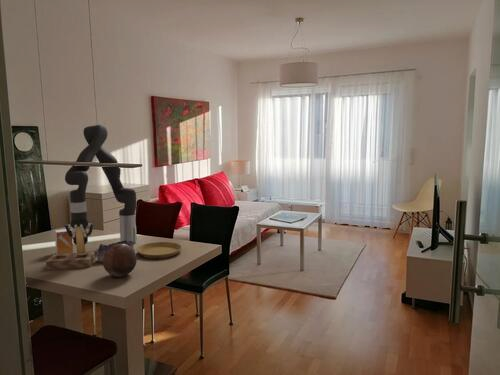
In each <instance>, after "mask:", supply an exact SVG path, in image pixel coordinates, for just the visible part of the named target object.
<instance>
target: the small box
mask: <svg viewBox="0 0 500 375" xmlns="http://www.w3.org/2000/svg"><path fill="white" fill-rule="evenodd" d="M71 232H72V233H73V230H72V229H71ZM54 239H55V240H54V241H55V254H69V253H74V243H73V237H71V236H69V235H68V233H67V231H66V228H61V229H55V230H54Z"/></svg>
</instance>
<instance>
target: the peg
mask: <svg viewBox="0 0 500 375" xmlns="http://www.w3.org/2000/svg"><path fill="white" fill-rule="evenodd" d="M75 246H76V253H77V254H84V253H86V244H84V234H83V233H82V230H81V227H80V226H79V227H77V229H76V245H75Z"/></svg>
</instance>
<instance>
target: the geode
mask: <svg viewBox="0 0 500 375" xmlns="http://www.w3.org/2000/svg"><path fill="white" fill-rule="evenodd" d="M116 244H125V245H128V246H130V247H131V248H132V249H133V250H134V251H135V248H134V245H135V243H134V242H133V241H129V242H127V240H125V241H117V242H113V243H110V244H108V245H107V244H102V243H100V244H99V247H98V250H97V251H96V252H97V253H96V255H97V262H98V263H101V264H103V256H104V254H105V252H106V251H107V249H109V248H110V247H111V246H113V245H116ZM135 252H136V251H135Z"/></svg>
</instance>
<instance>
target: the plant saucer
mask: <svg viewBox="0 0 500 375" xmlns="http://www.w3.org/2000/svg"><path fill="white" fill-rule="evenodd" d="M181 250H182V245H181V244H179V243H176V242H172V241H159V242H158V241H157V242H156V241H155V242H149V243H145V244H142V245H140V246H138V247H137V249H136V251H137V253H138V254H139V255H140V256H142V257H144V258H147V259H152V258H155V259H156V258H159V259H167V258H171V257H173V256H176V255H177V254H178V253H179V252H180V251H181ZM166 257H167V258H166ZM156 260H157V259H156Z"/></svg>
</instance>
